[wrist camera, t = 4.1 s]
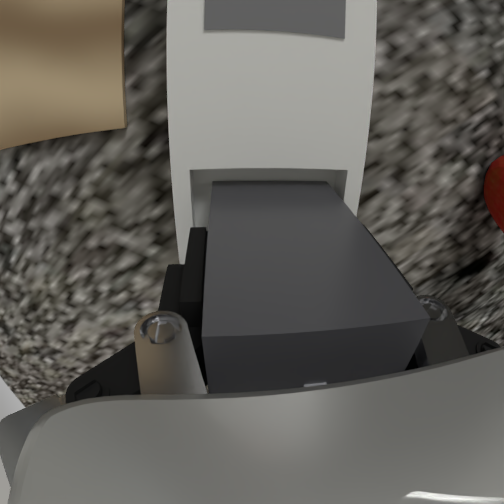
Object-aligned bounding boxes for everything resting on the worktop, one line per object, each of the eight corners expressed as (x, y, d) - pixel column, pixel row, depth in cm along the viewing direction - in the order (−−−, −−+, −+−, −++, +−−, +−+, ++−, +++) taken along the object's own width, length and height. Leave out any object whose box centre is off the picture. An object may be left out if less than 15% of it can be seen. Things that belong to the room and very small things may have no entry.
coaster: (127, 126, 13) (124, 128, 13) (-48, 162, 12) (-51, 164, 12) (134, -96, 7) (132, -99, 6) (-51, -19, 6) (-55, -19, 5)
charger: (316, 274, 15) (374, 428, 8) (216, 277, 15) (217, 446, 8) (328, 181, 13) (434, 319, 6) (212, 181, 12) (202, 339, 5)
